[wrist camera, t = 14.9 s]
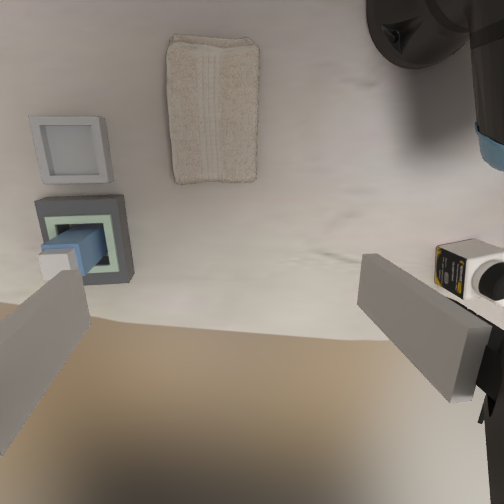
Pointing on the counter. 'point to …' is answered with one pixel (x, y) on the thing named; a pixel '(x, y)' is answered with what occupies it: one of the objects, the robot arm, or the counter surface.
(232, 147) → the washcloth
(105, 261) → the port block
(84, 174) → the grey square tray
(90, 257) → the plug
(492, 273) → the medicine bottle
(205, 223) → the counter surface
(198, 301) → the counter surface
